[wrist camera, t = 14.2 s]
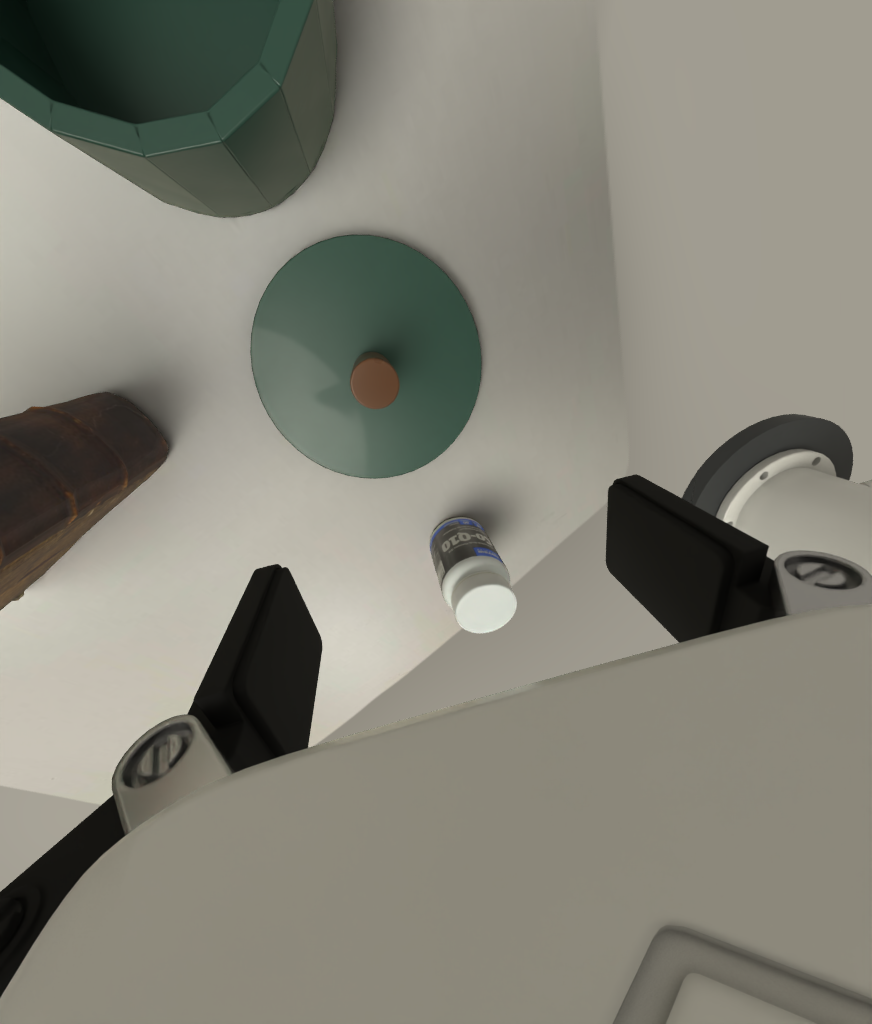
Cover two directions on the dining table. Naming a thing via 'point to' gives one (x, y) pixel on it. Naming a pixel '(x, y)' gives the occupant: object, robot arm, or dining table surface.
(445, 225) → the dining table surface
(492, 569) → the pill bottle
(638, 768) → the robot arm
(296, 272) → the tin lid
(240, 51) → the tin
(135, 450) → the book
